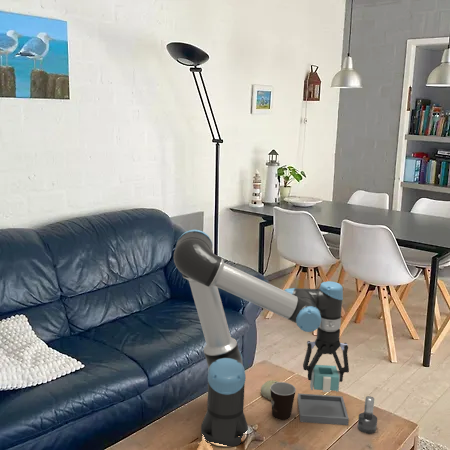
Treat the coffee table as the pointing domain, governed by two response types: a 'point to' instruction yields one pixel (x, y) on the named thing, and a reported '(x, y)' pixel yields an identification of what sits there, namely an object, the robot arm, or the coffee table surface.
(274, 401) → the coffee mug
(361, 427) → the cylinder
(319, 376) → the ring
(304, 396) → the tray
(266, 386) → the sea urchin shell
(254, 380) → the coffee table surface
